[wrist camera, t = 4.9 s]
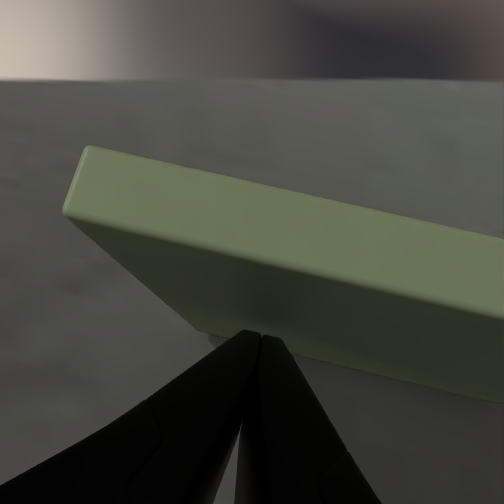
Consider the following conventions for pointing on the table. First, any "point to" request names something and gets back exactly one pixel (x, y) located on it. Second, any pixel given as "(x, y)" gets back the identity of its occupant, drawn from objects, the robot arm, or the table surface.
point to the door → (303, 270)
